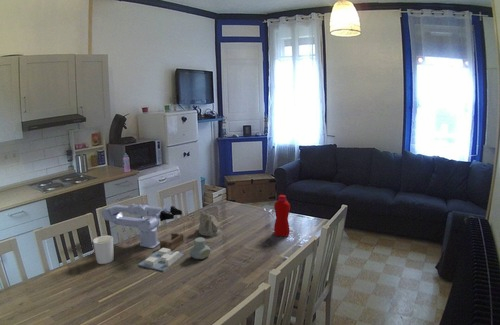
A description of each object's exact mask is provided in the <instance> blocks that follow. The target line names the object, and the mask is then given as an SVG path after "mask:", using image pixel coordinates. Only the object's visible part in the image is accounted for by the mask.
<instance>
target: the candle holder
mask: <svg viewBox="0 0 500 325" xmlns="http://www.w3.org/2000/svg"><path fill="white" fill-rule="evenodd" d="M92 244H93V249H94V254H95V259H96V262H97V264H99V265H106V264H110V263H111V262H113V261H114V258H115V257H114V256H115V252H114V237H113V236H112V235H109V234H107V235H106V234H105V235H100V236H96V237H95V238H94V239H93V240H92Z"/></svg>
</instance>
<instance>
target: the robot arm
mask: <svg viewBox="0 0 500 325" xmlns="http://www.w3.org/2000/svg"><path fill="white" fill-rule="evenodd" d="M123 213H128V214H129V215H134V216H139V217H141V218H139V217H130V216H124V214H123ZM101 215H102V218H103V219H104V220H105V221H109V222H110V223H112V224H115V226H121V227H123V226H124V227H131V228H138V230H139V231H140V232H139V241H140V242H139V243H140V244H139V246H140V247H145V248H147V249H155V247H156V246H159V245H160V240H159V239H158V227H159V225H160V222H163V221H166V220H174V219H175V216H182V215H183V211H182V210H181V209H179V208H177V207H176V206H174V205H171V206H170V207H166V205H163V206H162V207H160V206H152V205H149V204H147V203H144V204H143V205H142V204H135V203H131V204H130V205H129V206H128V205H121V204H113V205H110V206H107V207H106V208H103V209H102V210H101ZM144 217H146V218H144ZM159 220H160V221H159Z"/></svg>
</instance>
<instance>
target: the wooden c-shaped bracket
mask: <svg viewBox="0 0 500 325" xmlns="http://www.w3.org/2000/svg"><path fill="white" fill-rule="evenodd" d="M170 237H171V240H170V241H169V240H164V239H160V240H159V242H160V244H159V249H162V248H167V249H171V251H172V252H174V250H176V249H177V248H178V247H180V246H181V245H183V243H185V239H184V234H182V233H177V232H173V231H172V232H171V233H170Z"/></svg>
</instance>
